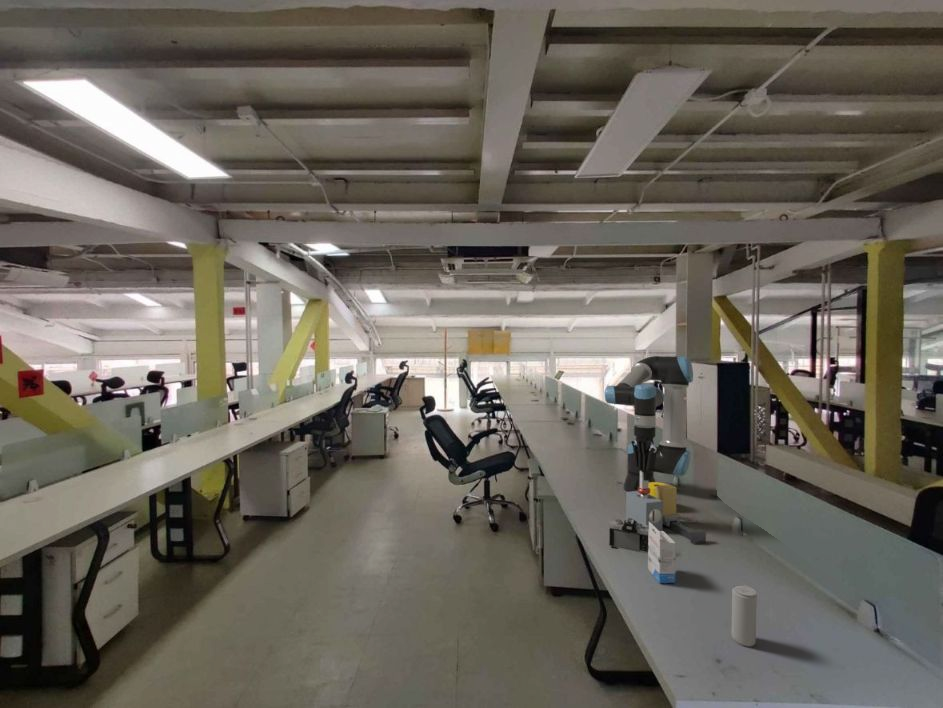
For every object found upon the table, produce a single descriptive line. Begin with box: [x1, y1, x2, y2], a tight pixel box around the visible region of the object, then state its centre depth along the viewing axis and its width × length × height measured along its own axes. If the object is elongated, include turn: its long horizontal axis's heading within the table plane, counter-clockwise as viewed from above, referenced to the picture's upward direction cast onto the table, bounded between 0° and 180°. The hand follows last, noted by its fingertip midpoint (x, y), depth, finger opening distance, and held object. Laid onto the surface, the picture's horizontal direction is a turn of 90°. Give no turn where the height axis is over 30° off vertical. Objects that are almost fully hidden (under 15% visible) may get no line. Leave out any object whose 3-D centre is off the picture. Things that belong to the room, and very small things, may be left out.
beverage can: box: [730, 584, 758, 647], centre depth 100 cm, size 5×5×12 cm
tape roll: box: [648, 481, 668, 497], centre depth 181 cm, size 10×10×9 cm
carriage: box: [656, 483, 682, 527], centre depth 166 cm, size 7×8×13 cm
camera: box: [608, 518, 655, 554], centre depth 147 cm, size 16×9×10 cm, turn 62°
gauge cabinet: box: [625, 491, 663, 531], centre depth 164 cm, size 7×13×11 cm, turn 15°
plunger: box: [638, 487, 650, 499], centre depth 164 cm, size 4×4×8 cm
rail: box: [662, 521, 707, 545], centre depth 161 cm, size 5×23×4 cm, turn 15°
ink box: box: [647, 522, 677, 584], centre depth 129 cm, size 8×5×15 cm, turn 0°
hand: (644, 488), depth 164 cm, fingers closed, pressing on plunger
